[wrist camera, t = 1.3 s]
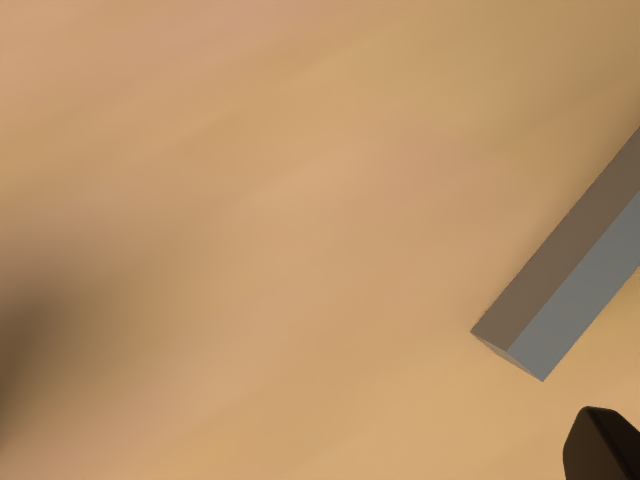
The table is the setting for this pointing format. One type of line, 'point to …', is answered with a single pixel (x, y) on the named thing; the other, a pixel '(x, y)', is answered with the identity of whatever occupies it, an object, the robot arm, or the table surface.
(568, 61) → the table surface
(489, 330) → the open-front crate
